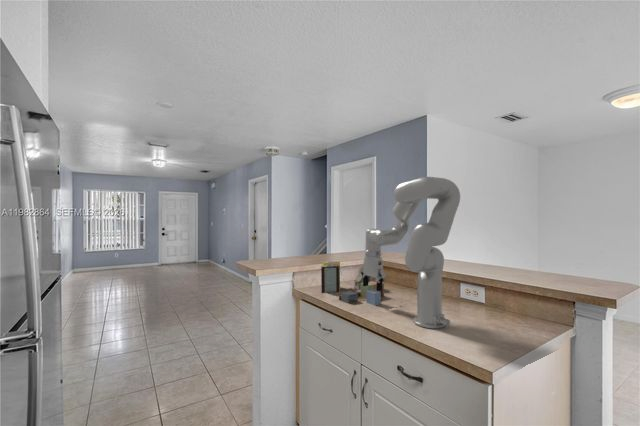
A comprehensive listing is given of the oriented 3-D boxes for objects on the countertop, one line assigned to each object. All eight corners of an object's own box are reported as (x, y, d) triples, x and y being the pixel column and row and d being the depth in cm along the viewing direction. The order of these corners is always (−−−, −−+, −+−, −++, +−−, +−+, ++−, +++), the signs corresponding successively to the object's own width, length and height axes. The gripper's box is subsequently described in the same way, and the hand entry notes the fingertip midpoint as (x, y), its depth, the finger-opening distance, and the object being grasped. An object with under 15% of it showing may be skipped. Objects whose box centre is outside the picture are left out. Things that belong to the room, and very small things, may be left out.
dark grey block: (357, 301, 155) (357, 293, 155) (348, 303, 152) (348, 295, 152) (350, 298, 160) (350, 290, 160) (340, 300, 157) (340, 292, 157)
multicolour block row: (383, 298, 163) (383, 283, 163) (350, 306, 150) (349, 289, 150) (372, 294, 171) (372, 280, 171) (338, 301, 158) (338, 286, 158)
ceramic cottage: (351, 287, 186) (352, 263, 186) (376, 287, 189) (378, 263, 189) (358, 296, 171) (360, 269, 170) (386, 295, 174) (388, 269, 173)
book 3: (380, 306, 150) (380, 292, 150) (374, 307, 148) (374, 293, 148) (372, 303, 155) (372, 289, 155) (366, 304, 153) (366, 290, 153)
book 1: (380, 296, 164) (379, 283, 164) (374, 297, 161) (374, 284, 161) (372, 294, 169) (372, 281, 169) (366, 295, 166) (366, 282, 166)
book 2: (373, 297, 161) (373, 284, 161) (368, 299, 159) (368, 285, 159) (366, 295, 166) (366, 282, 166) (360, 296, 164) (360, 283, 164)
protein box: (340, 287, 189) (340, 262, 189) (339, 293, 173) (339, 266, 173) (323, 286, 190) (323, 261, 190) (321, 293, 174) (320, 266, 174)
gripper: (391, 255, 147) (390, 291, 147) (366, 250, 161) (366, 283, 161) (380, 257, 142) (379, 293, 143) (355, 251, 157) (355, 285, 157)
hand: (372, 288), depth 152 cm, fingers open, 9 cm apart
